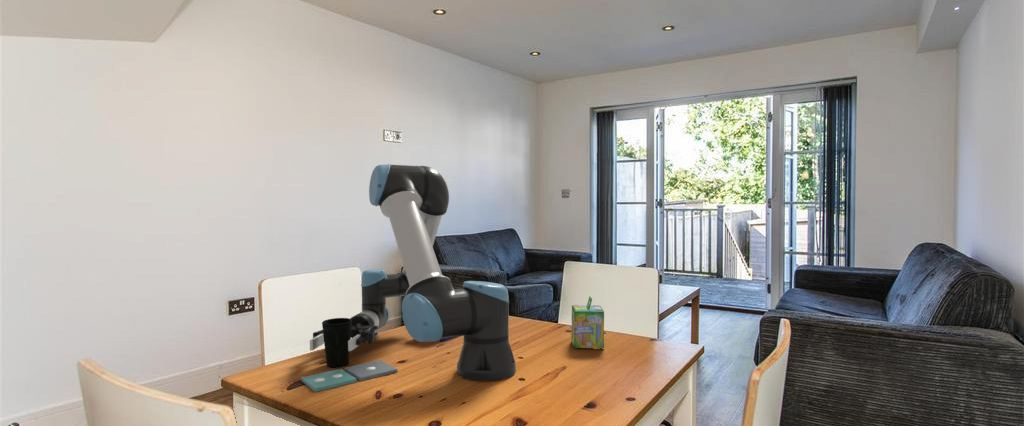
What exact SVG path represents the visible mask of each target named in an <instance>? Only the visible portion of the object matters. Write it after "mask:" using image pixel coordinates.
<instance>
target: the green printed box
mask: <svg viewBox="0 0 1024 426" xmlns="http://www.w3.org/2000/svg"><path fill="white" fill-rule="evenodd" d="M592 301H593V299H592V296H588V300H587V303H586V305H582V304H578V305H577V304H572V305H571V333H570V334H571V336H570V338H571V339H570V340H571V343H572V346H574V347H573V349H574V348H604V349H605V311H604V310H603V307H602V306H601V305H592Z"/></svg>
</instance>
